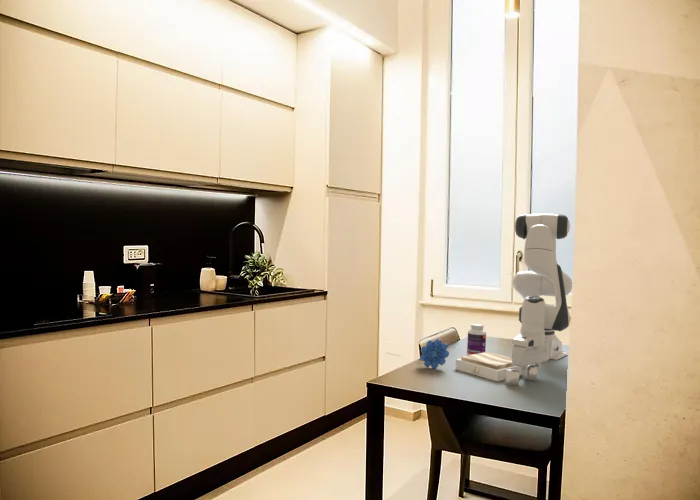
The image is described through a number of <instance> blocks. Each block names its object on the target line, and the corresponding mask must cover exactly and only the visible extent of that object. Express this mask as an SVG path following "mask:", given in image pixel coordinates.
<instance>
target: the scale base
mask: <svg viewBox="0 0 700 500" xmlns="http://www.w3.org/2000/svg"><path fill="white" fill-rule="evenodd" d="M506 369H515V370H518V371H520V374H519V377H520V376H523V371H522V369H521V367H518V366H515V365H513V366H509V367H504V368H500V369H494V368H491V367H487V366H483V365H480V364H476V363H472V362H469V361H465V360H461V357H460V358H455V370H457V371H460V372H464V373H468V374H471V375H474V376H477V377H481V378H484V379H488V380H490V381H495V382H500V381H505V370H506Z"/></svg>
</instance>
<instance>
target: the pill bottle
mask: <svg viewBox="0 0 700 500" xmlns="http://www.w3.org/2000/svg"><path fill="white" fill-rule="evenodd" d="M486 343H487V332H486V330H484V324H481V323H471V324H470V329H468V331H467V347H466V354H467V355H473V354H478V353H484V352H486V348H487V347H486ZM467 355H466V356H467Z"/></svg>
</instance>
